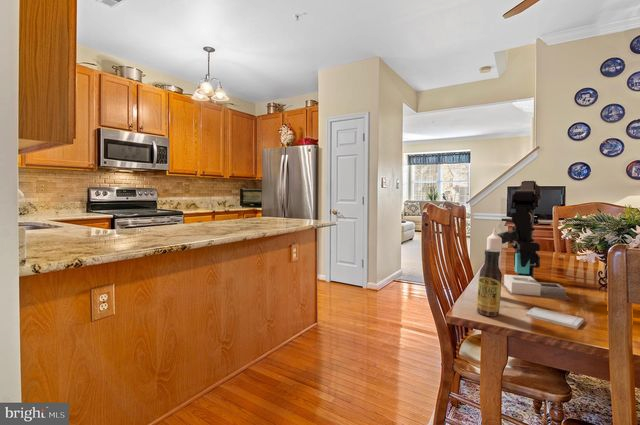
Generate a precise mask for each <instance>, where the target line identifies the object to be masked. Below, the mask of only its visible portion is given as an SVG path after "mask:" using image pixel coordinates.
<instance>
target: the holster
mask: <svg viewBox="0 0 640 425" xmlns="http://www.w3.org/2000/svg"><path fill="white" fill-rule="evenodd" d="M537 282H538V281H537ZM538 283H539V284H541V292H540V294H549V295H561V296H566V295H567V288H565V287H564V286H563V285H561V284H560V283H551V282H538Z"/></svg>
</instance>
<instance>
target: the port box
mask: <svg viewBox="0 0 640 425" xmlns="http://www.w3.org/2000/svg"><path fill="white" fill-rule="evenodd" d="M503 283H504V285H505V286H506V287H507V289H508V290H509V291H510V292H511V293H515V294H526V295H538V296H540V292H541V284H539V283H538V281H537V280H536V279H535V278H534V279H533V278H532V277H531V276H519V275H518V274H517V275H514V274H504V276H503ZM507 289H506V290H507ZM508 290H507V291H508Z"/></svg>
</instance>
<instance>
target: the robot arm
mask: <svg viewBox="0 0 640 425" xmlns="http://www.w3.org/2000/svg"><path fill="white" fill-rule="evenodd" d="M541 200H542V187H541V186H539V185H538V184H537V181H536V180H523V181H521V184H520V185H519V186H518V187H517V189H516V190H515V191H514V193H512V197H511V205H510V209H511V210H515V212H514V213H513V214H512V216H511V222H512V223H513V224H514V226H512V228H511V230H508V231H504V232H500V233H497V235H498V236H500V237H501V238H502V245H503V244H507V243H508V244H511V245H510V246H511V248H513V249H514V253H513V261H514V263H513V265H514V267H515V253H520V261H521V266H522V267H525V266H526V265H527V263H528V261H529V260H530V265H529V274H523V273H517V275H519V276H531V277H532V278H533V279H534V280H535V269H538V268H539V269H540V268H541V257H540V255H539V253H537V252H541V245H540V244H539V243H538V242H536V241H535V239H534V231H535V227H534V219H535V218H534V217H535V210H537V208H539V205H540V201H541Z"/></svg>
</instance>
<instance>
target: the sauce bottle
mask: <svg viewBox="0 0 640 425" xmlns="http://www.w3.org/2000/svg"><path fill="white" fill-rule="evenodd" d="M499 256H500V251H498V250H492V249H487V248H485V250H484V262H483V263H484V264H483V265H482V267H481V268H480V270H479V276H478V286H477V300H476V312H478V313H479V314H480V315H482V316H485V317H486V316H487V317H496V316H497V317H498V316H499V312H500V309H501V293H502V285H503V284H502V283H503V282H502V280H503V278H502V277H503V273H502V270H501V271H500V269H499V267H498V265H499V263H498V261H499Z"/></svg>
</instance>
